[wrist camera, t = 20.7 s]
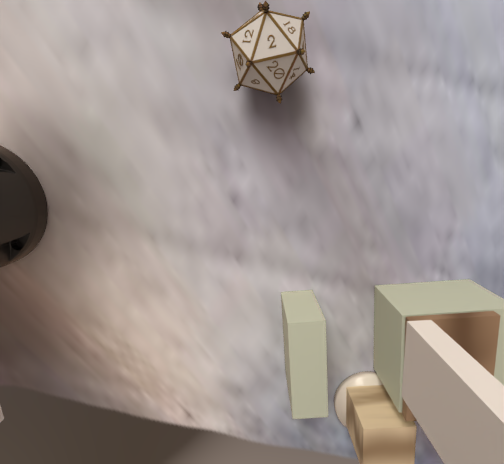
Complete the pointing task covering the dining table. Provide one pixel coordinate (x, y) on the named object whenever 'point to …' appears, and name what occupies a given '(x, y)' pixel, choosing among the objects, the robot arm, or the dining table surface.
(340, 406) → the cream coaster
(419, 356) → the robot arm
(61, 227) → the dining table surface
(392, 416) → the maple block
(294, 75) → the game die
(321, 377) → the pale green split block
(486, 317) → the walnut cover
